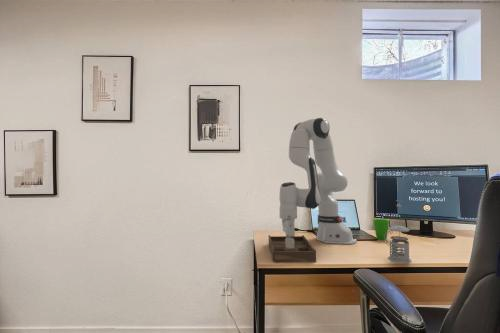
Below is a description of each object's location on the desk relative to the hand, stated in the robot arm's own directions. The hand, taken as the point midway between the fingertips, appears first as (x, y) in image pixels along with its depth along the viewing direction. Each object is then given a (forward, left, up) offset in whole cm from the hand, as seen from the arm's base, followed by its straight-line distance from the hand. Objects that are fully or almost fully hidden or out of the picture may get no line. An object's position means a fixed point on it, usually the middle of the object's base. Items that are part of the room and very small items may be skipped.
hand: (288, 241), depth 146 cm
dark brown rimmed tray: (-2, +3, -4) cm, 6 cm away
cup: (-43, -45, -4) cm, 62 cm away
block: (-2, +3, -2) cm, 4 cm away
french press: (-50, -6, -4) cm, 50 cm away
